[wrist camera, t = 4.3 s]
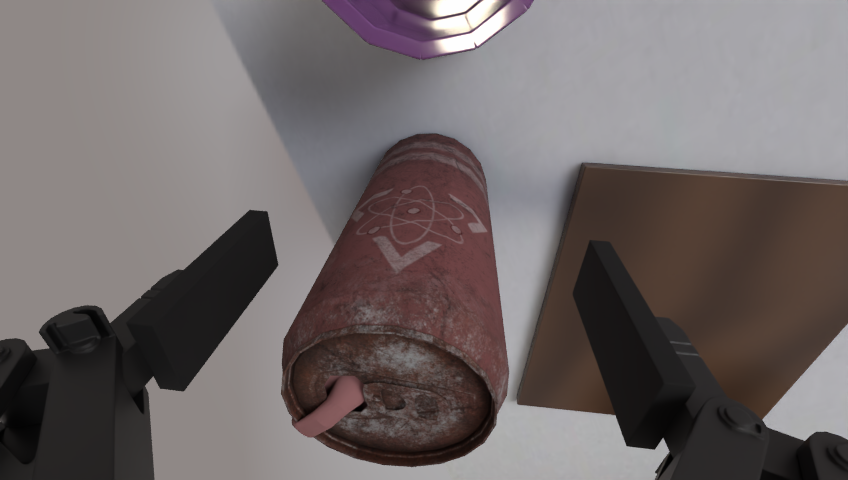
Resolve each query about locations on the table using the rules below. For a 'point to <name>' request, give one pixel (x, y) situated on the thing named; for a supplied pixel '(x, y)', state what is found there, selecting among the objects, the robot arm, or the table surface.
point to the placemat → (702, 277)
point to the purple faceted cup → (428, 23)
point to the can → (404, 317)
